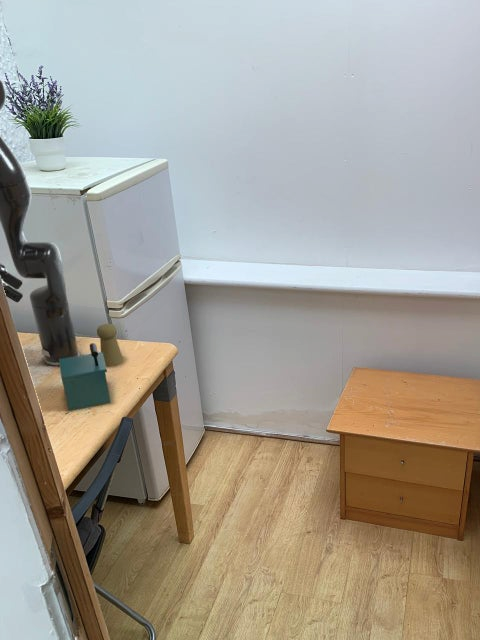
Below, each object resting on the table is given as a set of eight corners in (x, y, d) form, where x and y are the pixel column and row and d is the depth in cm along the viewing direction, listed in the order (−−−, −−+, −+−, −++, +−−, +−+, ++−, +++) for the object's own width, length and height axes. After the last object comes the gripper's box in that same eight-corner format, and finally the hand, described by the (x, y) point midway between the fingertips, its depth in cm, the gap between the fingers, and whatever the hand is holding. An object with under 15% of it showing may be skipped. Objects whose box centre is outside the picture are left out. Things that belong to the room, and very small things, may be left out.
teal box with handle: (102, 354, 156) (99, 337, 154) (107, 372, 148) (103, 354, 146) (59, 361, 153) (55, 344, 151) (61, 379, 145) (57, 361, 143)
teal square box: (106, 384, 161) (100, 355, 156) (110, 403, 153) (105, 372, 148) (66, 391, 158) (59, 361, 153) (69, 410, 150) (61, 380, 145)
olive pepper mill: (117, 367, 169) (110, 331, 163) (97, 365, 170) (90, 329, 164) (126, 357, 174) (121, 322, 168) (107, 355, 175) (100, 320, 169)
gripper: (-44, 243, 121) (31, 290, 131) (-39, 225, 132) (29, 269, 142) (-66, 272, 122) (10, 316, 132) (-59, 251, 133) (10, 294, 143)
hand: (20, 292), depth 137 cm, fingers open, 8 cm apart
